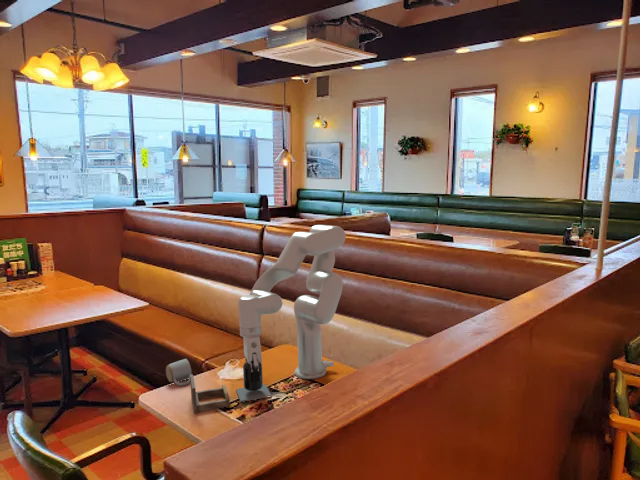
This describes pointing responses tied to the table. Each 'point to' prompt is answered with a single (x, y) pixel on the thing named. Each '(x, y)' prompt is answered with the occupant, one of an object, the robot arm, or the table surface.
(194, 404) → the dispenser stand
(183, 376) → the ceramic mug
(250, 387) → the supplement bottle
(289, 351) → the table surface
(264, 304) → the robot arm
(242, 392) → the rubber pad
